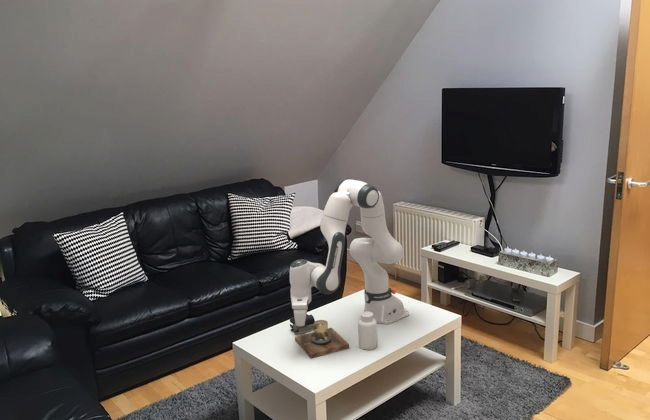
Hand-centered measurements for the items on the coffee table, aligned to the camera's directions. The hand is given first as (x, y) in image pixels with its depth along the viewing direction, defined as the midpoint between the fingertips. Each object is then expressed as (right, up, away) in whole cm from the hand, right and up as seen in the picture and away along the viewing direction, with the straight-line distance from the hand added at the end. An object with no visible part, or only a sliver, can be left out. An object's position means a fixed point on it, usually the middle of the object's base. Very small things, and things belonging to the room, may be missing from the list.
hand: (302, 326), depth 245 cm
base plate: (+8, -8, +2) cm, 12 cm away
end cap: (-1, -5, +16) cm, 17 cm away
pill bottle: (+28, -8, -1) cm, 29 cm away
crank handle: (+4, -5, -1) cm, 6 cm away
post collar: (+8, -6, +1) cm, 10 cm away
